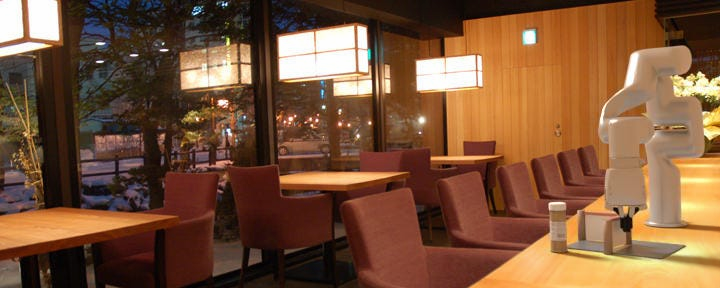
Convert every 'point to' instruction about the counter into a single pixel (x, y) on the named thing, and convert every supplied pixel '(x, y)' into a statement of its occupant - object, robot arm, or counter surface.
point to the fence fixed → (598, 228)
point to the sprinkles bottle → (558, 227)
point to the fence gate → (617, 231)
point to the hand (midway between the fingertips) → (626, 231)
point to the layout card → (630, 248)
